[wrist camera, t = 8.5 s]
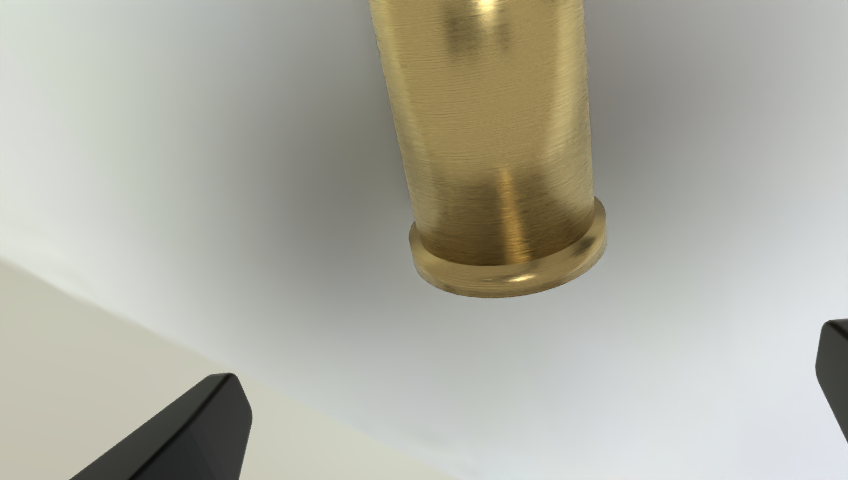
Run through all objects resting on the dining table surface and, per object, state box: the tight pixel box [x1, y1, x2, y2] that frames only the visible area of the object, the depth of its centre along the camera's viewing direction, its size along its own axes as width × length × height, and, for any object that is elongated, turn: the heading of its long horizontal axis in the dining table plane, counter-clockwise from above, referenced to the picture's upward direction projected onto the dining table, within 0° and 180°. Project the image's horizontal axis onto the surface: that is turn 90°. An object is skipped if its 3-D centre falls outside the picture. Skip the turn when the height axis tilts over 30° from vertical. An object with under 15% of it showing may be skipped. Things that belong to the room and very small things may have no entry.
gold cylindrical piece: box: [368, 0, 607, 298], centre depth 14 cm, size 14×6×6 cm, turn 10°
